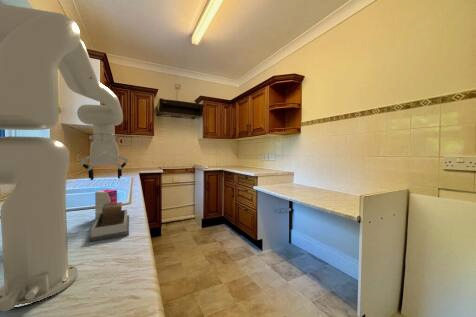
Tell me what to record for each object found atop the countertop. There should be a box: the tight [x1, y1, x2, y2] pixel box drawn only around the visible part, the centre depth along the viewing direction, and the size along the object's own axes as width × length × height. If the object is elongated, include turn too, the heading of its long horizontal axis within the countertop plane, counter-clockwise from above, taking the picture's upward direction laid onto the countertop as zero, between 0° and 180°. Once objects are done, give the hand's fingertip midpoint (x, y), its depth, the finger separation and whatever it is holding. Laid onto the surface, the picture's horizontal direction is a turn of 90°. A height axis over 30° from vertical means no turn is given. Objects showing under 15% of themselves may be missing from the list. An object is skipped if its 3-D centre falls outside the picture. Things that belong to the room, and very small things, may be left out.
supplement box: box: [94, 189, 118, 220], centre depth 86 cm, size 6×6×12 cm
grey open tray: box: [88, 201, 130, 243], centre depth 73 cm, size 18×11×8 cm, turn 28°
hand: (106, 178), depth 86 cm, fingers open, 9 cm apart
